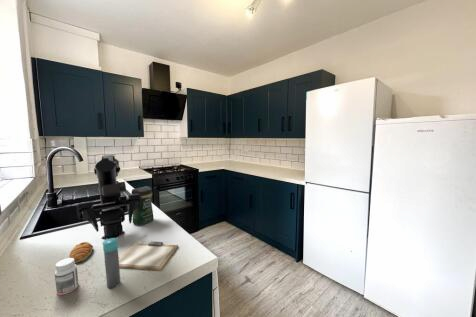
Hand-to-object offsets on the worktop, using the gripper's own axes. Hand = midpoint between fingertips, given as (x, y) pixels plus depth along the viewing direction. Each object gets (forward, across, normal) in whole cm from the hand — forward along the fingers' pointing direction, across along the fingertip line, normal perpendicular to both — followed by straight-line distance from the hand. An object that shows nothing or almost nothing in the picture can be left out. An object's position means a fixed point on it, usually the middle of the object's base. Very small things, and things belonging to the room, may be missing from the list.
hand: (114, 226), depth 64 cm
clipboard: (+9, +9, +11) cm, 17 cm away
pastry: (-3, -9, +22) cm, 24 cm away
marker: (+16, -2, +5) cm, 17 cm away
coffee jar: (-16, +16, +33) cm, 40 cm away
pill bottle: (+11, -13, +10) cm, 19 cm away
